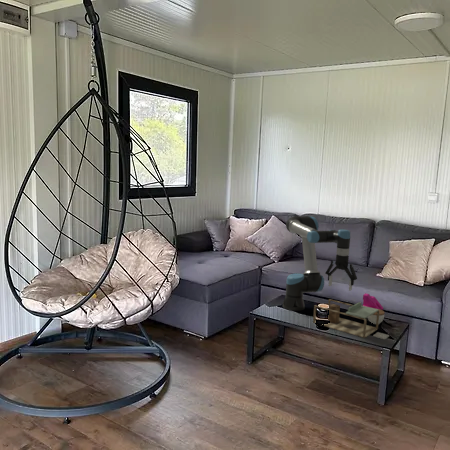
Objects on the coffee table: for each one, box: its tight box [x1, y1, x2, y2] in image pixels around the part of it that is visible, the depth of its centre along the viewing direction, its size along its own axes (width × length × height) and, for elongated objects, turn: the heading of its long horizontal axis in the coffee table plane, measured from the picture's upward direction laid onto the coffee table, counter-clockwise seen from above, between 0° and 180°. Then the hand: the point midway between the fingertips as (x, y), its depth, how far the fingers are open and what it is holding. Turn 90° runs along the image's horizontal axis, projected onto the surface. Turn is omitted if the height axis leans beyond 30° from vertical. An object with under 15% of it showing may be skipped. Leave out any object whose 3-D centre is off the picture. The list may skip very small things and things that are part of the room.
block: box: [328, 303, 341, 323], centre depth 285 cm, size 5×5×10 cm
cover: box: [345, 301, 378, 319], centre depth 272 cm, size 12×20×3 cm, turn 139°
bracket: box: [361, 292, 384, 310], centre depth 315 cm, size 12×10×10 cm
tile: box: [373, 331, 390, 340], centre depth 266 cm, size 7×7×1 cm
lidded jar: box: [366, 308, 385, 325], centre depth 288 cm, size 11×11×9 cm
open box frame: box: [312, 298, 379, 339], centre depth 280 cm, size 34×20×11 cm, turn 49°
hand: (340, 288), depth 281 cm, fingers open, 13 cm apart
